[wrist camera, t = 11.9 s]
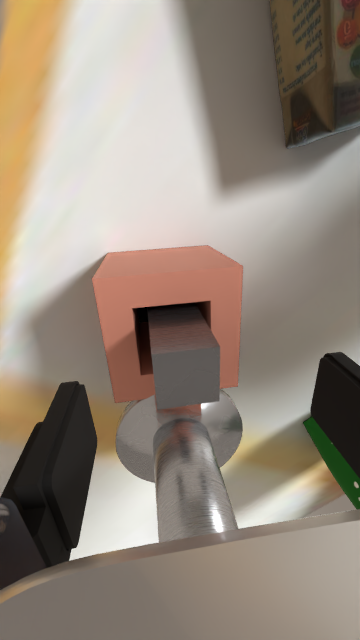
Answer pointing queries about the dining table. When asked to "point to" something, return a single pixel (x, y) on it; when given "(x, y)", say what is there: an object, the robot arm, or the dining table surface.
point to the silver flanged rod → (183, 463)
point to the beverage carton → (317, 66)
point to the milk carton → (335, 462)
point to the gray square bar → (183, 356)
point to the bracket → (165, 289)
